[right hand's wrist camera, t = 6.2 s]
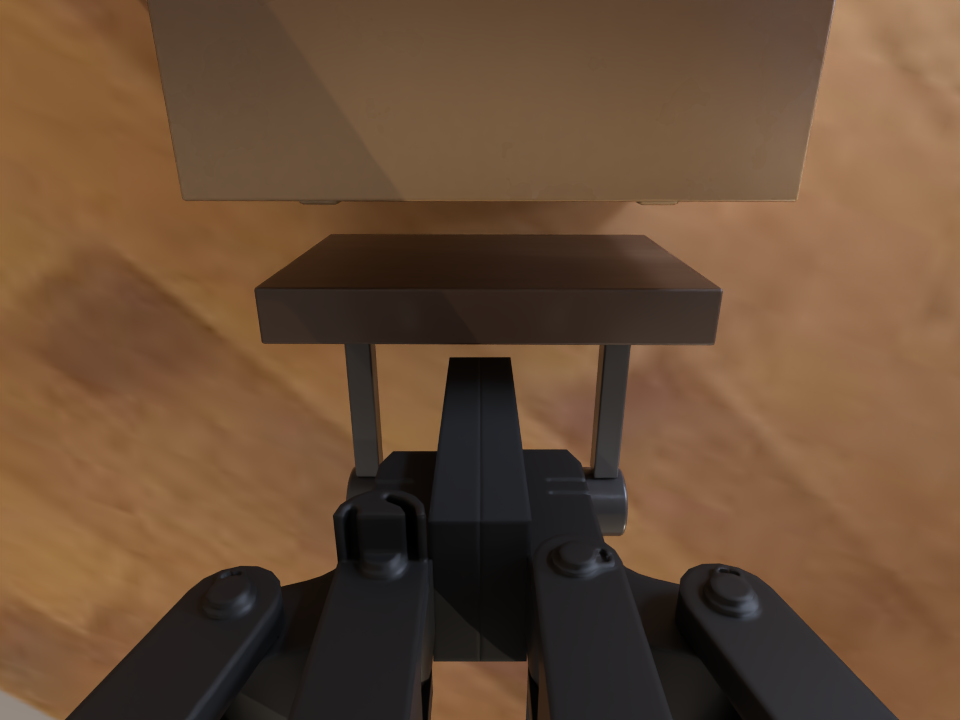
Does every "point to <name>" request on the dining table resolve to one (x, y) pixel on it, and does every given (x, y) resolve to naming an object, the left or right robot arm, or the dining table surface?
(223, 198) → the cabinet
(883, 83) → the dining table surface
